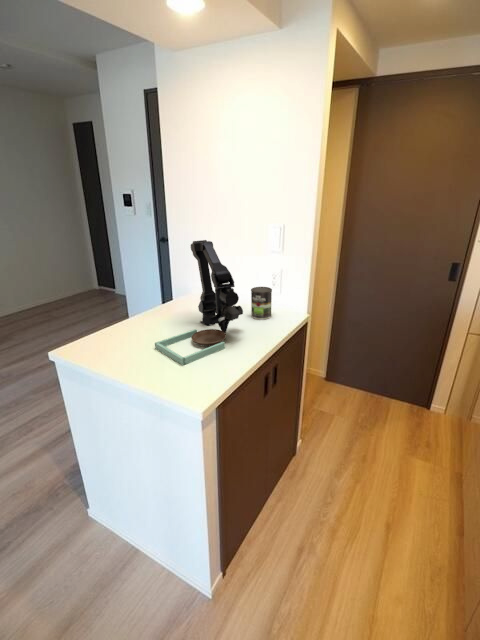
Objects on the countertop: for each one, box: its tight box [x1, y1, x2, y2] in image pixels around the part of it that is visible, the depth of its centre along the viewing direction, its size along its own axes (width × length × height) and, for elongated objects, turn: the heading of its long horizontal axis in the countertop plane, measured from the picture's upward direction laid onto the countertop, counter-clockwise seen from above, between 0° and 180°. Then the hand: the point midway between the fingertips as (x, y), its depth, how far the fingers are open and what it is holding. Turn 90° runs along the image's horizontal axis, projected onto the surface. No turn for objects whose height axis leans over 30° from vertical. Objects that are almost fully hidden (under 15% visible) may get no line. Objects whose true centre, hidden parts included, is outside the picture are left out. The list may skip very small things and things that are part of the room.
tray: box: [154, 328, 226, 366], centre depth 134 cm, size 20×20×2 cm
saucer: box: [190, 328, 227, 348], centre depth 140 cm, size 15×15×3 cm
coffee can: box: [250, 286, 273, 321], centre depth 165 cm, size 10×10×14 cm
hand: (224, 333), depth 145 cm, fingers closed
